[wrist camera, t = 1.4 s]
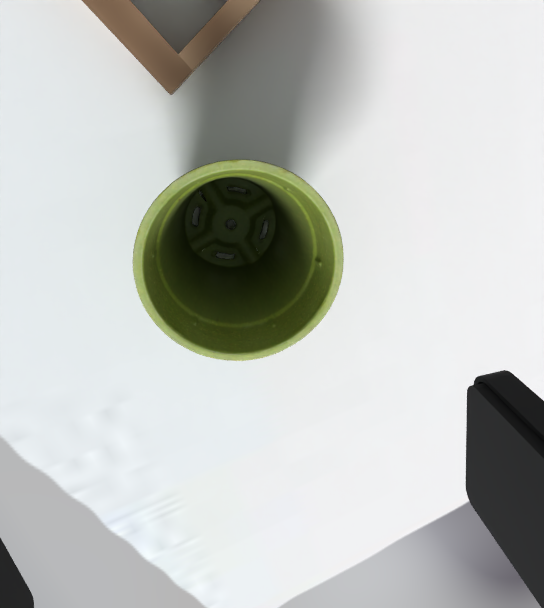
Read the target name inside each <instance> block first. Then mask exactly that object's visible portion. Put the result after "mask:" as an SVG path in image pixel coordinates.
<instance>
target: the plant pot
mask: <svg viewBox="0 0 544 608" xmlns="http://www.w3.org/2000/svg"><path fill="white" fill-rule="evenodd" d="M226 186H228V187H238V188H242V189H245V190H246V191H247V193H246V194H243V193H240V192H236V191H228V189H227V187H226ZM199 191H201V193H202V194H203V196H204V197H205V199H206V201H205V200H204V199H203V198H202V196H201V195H200V194H199ZM196 207H199V208H200V209H201V211H200V215H199V221H198V226H194V225H193V224H192V217H193V212H194V209H195V208H196ZM263 218H264V219H263ZM228 220H234V222H235V224H236V225H235V227H234V228H233V229H228V228H227V226H226V222H227V221H228ZM263 220H264V221H265V220H268V230H267V234H266V236H265V238H264V239H260V233H261V230H262V226H263V224H264V223H263ZM256 248H257V249H256ZM202 250H203V251H202ZM257 250H258V251H257ZM217 252H221V253H225V254H235V256H234V259H231V260H230V259H221V258H217V257H216V254H217ZM342 272H343V245H342V239H341V235H340V231H339V228H338V225H337V223H336V220H335V218H334V216H333V214H332V212H331V210H330V209H329V207H328V205H327V204H326V203H325V201H324V200H323V198H322V197H321V196H320V195H319V194H318V193H317V192H316V191H315V190H314V189H313V188H312V187H311V186H310V185H309V184H308V183H307V182H305V181H304V180H303V179H301V178H300V177H298V176H297V175H295V174H294V173H292V172H290V171H288V170H286V169H284V168H281V167H279V166H276V165H273V164H270V163H266V162H261V161H255V160H226V161H219V162H215V163H211V164H207V165H204V166H201V167H198V168H196V169H194V170H192V171H190V172H188V173H186V174H184V175H183V176H181V177H180V178H178V179H177V180H175V181H174V182H172V183H171V184H170V185H169V186H168V187H167V188H166V189H165V190H164V191H163V192H162V193H161V194H160V195H159V196H158V197H157V198H156V199H155V201H154V202H153V203H152V205H151V206H150V208H149V209H148V211H147V213H146V214H145V216H144V218H143V220H142V222H141V224H140V227H139V230H138V232H137V236H136V240H135V244H134V250H133V273H134V279H135V284H136V288H137V291H138V294H139V297H140V299H141V302H142V304H143V306H144V308H145V309H146V311H147V313H148V314H149V316H150V317H151V318H152V320H153V321H154V322H155V324H156V325H157V326H158V327H159V328H160V329H161V330H162V331H163V332H164V333H165V334H166V335H167V336H168V337H170V338H171V339H172V340H173V341H175V342H176V343H178V344H180V345H181V346H183V347H185V348H187V349H189V350H191V351H193V352H195V353H198V354H200V355H203V356H207V357H210V358H215V359H221V360H233V361H245V360H253V359H259V358H263V357H267V356H270V355H273V354H276V353H278V352H280V351H282V350H284V349H286V348H288V347H290V346H292V345H294V344H295V343H297V342H298V341H300V340H301V339H303V338H304V337H305V336H306V335H307V334H309V333H310V332H311V331H312V330H313V329H314V328H315V327H316V326H317V325H318V324H319V322H320V321H321V320H322V319H323V318H324V316H325V315H326V313H327V312H328V310H329V309H330V307H331V305H332V303H333V301H334V299H335V297H336V294H337V292H338V289H339V286H340V283H341V278H342Z"/></svg>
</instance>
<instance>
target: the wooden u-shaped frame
mask: <svg viewBox="0 0 544 608" xmlns="http://www.w3.org/2000/svg"><path fill="white" fill-rule="evenodd" d="M82 1H83V2H84V3H85V4H86V5H87V6H88V7H89V9H90V10H91V11H92V12H93V13H94V14H95V15H96V16H97V17H98V18H99V19H100V20H101V21H102V22H103V23H104V25H105V26H106V27H107V28H108V29H109V30H110V31H111V32H112V33H113V34H114V35H115V36H116V37H117V38H118V39H119V41H120V42H121V43H122V44H123V45H124V46H125V47H126V48H127V49H128V50H129V51H130V52H131V53H132V54H133V55H134V57H135V58H136V59H137V60H138V61H139V62H140V63H141V64H142V65H143V66H144V67H145V68H146V69H147V70H148V71H149V72H150V74H151V75H152V76H153V77H154V78H155V79H156V80H157V81H158V82H159V83H160V84H161V85H162V86H163V87H164V88H165V90H166V91H167V92H168V93H169V94H170V95H172V94H173V93H174V92H175V91H176V90H177V89H178V88H179V87H180V86H181V85H182V84H183V83H184V82H185V81H186V79H187V78H188V77H189V76H190V75H191V74H192V73H193V72H194V71H195V70H196V69H197V68H198V67H199V66H200V64H201V63H202V62H203V61H204V60H205V59H206V58H207V57H208V56H209V55H210V54H211V53H212V52H213V51H214V50H215V48H216V47H217V46H218V45H219V44H220V43H221V42H222V41H223V40H224V39H225V38H226V37H227V36H228V35H229V34H230V32H231V31H232V30H233V29H234V28H235V27H236V26H237V25H238V24H239V23H240V22H241V21H242V20H243V19H244V18H245V16H246V15H247V14H248V13H249V12H250V11H251V10H252V9H253V8H254V7H255V6H256V5H257V4H258V3H259V2H260V0H228V1H227V2H226V3H225V4H224V5H223V6H222V7H221V8H220V10H219V11H218V12H217V13H216V14H215V15H214V16H213V17H212V18H211V19H210V20H209V21H208V23H207V24H206V25H205V26H204V27H203V28H202V29H201V30H200V31H199V32H198V33H197V34H196V36H195V37H194V38H193V39H192V40H191V41H190V42H189V43H188V44H187V45H186V46H185V47H184V49H183V50H182V51H181V52H180V53H179V54H177V52H176V51H175V50H174V49H173V48H172V47H171V46H170V45H169V43H168V42H167V41H166V40H165V39H164V38H163V37H162V36H161V35H160V33H159V32H158V31H157V30H156V29H155V28H154V27H153V26H152V24H151V23H150V22H149V21H148V20H147V19H146V18H145V17H144V16H143V14H142V13H141V12H140V11H139V10H138V9H137V8H136V7H135V5H134V4H133V3H132V2H131V1H130V0H82Z"/></svg>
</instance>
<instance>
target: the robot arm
mask: <svg viewBox="0 0 544 608" xmlns="http://www.w3.org/2000/svg"><path fill="white" fill-rule="evenodd" d="M466 491H467V495H468V498H469V501H470V503H471V505H472V506H473V508H474V509H475V511H476V512H477V514H478V515H479V516H480V518H481V520H482V521H483V522H484V524H485V525H486V527H487V528H488V530H489V531H490V533H491V534H492V536H493V537H494V539H495V540H496V541H497V543H498V544H499V546H500V547H501V549H502V550H503V552H504V553H505V555H506V556H507V558H508V559H509V560H510V562H511V563H512V565H513V566H514V568H515V569H516V571H517V572H518V574H519V575H520V577H521V578H522V579H523V581H524V583H525V584H526V585H527V587H528V588H529V590H530V591H531V593H532V594H533V596H534V597H535V598H536V600H537V602H538V603H539V604H540V606H541V607H542V608H544V401H543V400H542V399H541V398H540V397H538V396H537V395H536V394H535V393H534V392H533V391H532V390H530V389H529V388H528V387H527V386H526V385H525V384H524V383H522V382H521V381H520V380H519V379H518V378H517V377H515V376H514V375H513V374H512V373H510V372H509V371H505V370H504V371H500V372H495V373H491V374H486V375H482V376H478V377H476V379H475V381H474V385H472V386H470V387H469V388H468V390H467V436H466ZM0 608H34V601H33V596H32V594H31V592H30V590H29V588H28V586H27V584H26V583H25V581H24V579H23V577H22V576H21V574H20V572H19V570H18V568H17V567H16V565H15V563H14V561H13V560H12V558H11V556H10V554H9V552H8V551H7V549H6V547H5V545H4V544H3V542H2V540H1V538H0Z"/></svg>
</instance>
